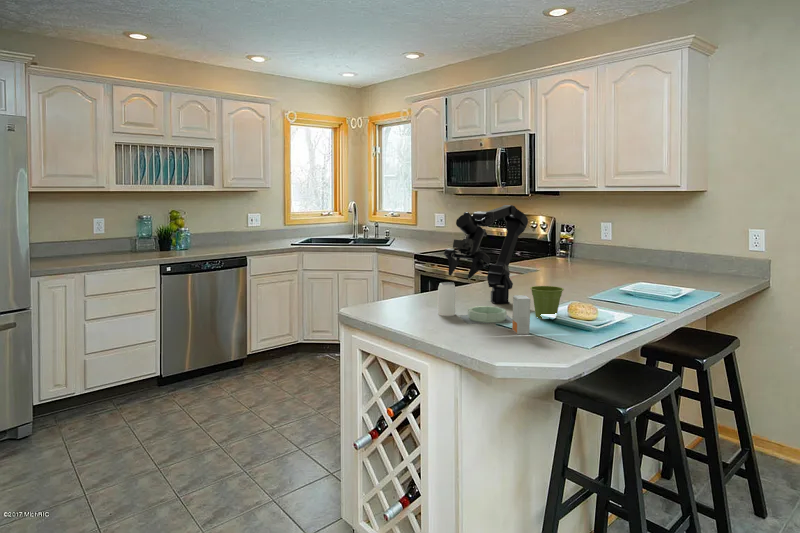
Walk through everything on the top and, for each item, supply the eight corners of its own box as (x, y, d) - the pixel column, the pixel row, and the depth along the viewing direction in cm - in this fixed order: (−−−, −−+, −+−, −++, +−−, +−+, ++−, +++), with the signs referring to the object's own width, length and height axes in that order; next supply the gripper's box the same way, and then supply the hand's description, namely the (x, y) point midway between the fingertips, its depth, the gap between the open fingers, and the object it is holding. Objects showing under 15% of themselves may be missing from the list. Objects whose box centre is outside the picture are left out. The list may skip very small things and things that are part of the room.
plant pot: (562, 316, 206) (564, 286, 204) (562, 323, 195) (563, 291, 193) (530, 314, 209) (531, 284, 208) (527, 320, 198) (528, 289, 197)
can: (454, 317, 203) (454, 285, 201) (436, 316, 204) (437, 284, 203) (456, 313, 209) (456, 282, 208) (438, 312, 210) (439, 281, 209)
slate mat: (505, 314, 207) (505, 313, 207) (517, 323, 194) (517, 322, 194) (458, 316, 205) (458, 314, 205) (467, 325, 191) (467, 323, 191)
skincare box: (511, 330, 184) (512, 295, 183) (524, 330, 185) (525, 295, 183) (516, 335, 178) (518, 298, 177) (529, 335, 179) (531, 298, 177)
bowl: (499, 314, 207) (499, 305, 206) (510, 322, 194) (510, 313, 193) (464, 315, 205) (464, 306, 205) (473, 323, 192) (473, 314, 192)
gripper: (443, 228, 214) (428, 264, 210) (482, 231, 201) (467, 269, 197) (458, 242, 222) (444, 277, 218) (497, 246, 209) (483, 283, 205)
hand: (458, 276), depth 209 cm, fingers open, 9 cm apart
